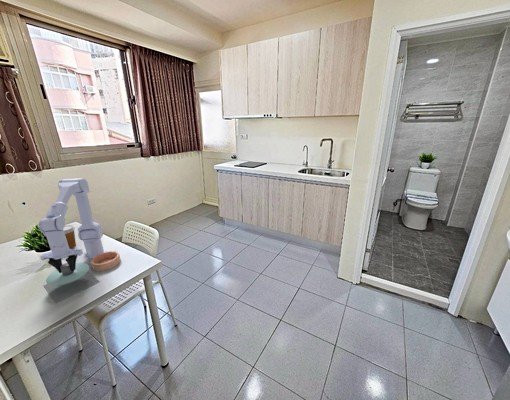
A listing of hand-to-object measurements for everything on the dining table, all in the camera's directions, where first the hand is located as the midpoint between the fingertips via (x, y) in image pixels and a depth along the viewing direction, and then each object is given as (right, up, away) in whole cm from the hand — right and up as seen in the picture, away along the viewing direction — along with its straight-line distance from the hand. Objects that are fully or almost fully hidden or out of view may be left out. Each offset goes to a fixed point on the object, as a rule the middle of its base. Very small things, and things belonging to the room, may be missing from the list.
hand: (67, 270), depth 99 cm
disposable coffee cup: (-28, +3, +34) cm, 44 cm away
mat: (0, -7, +2) cm, 7 cm away
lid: (0, -2, +1) cm, 2 cm away
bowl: (+6, -2, +17) cm, 18 cm away
